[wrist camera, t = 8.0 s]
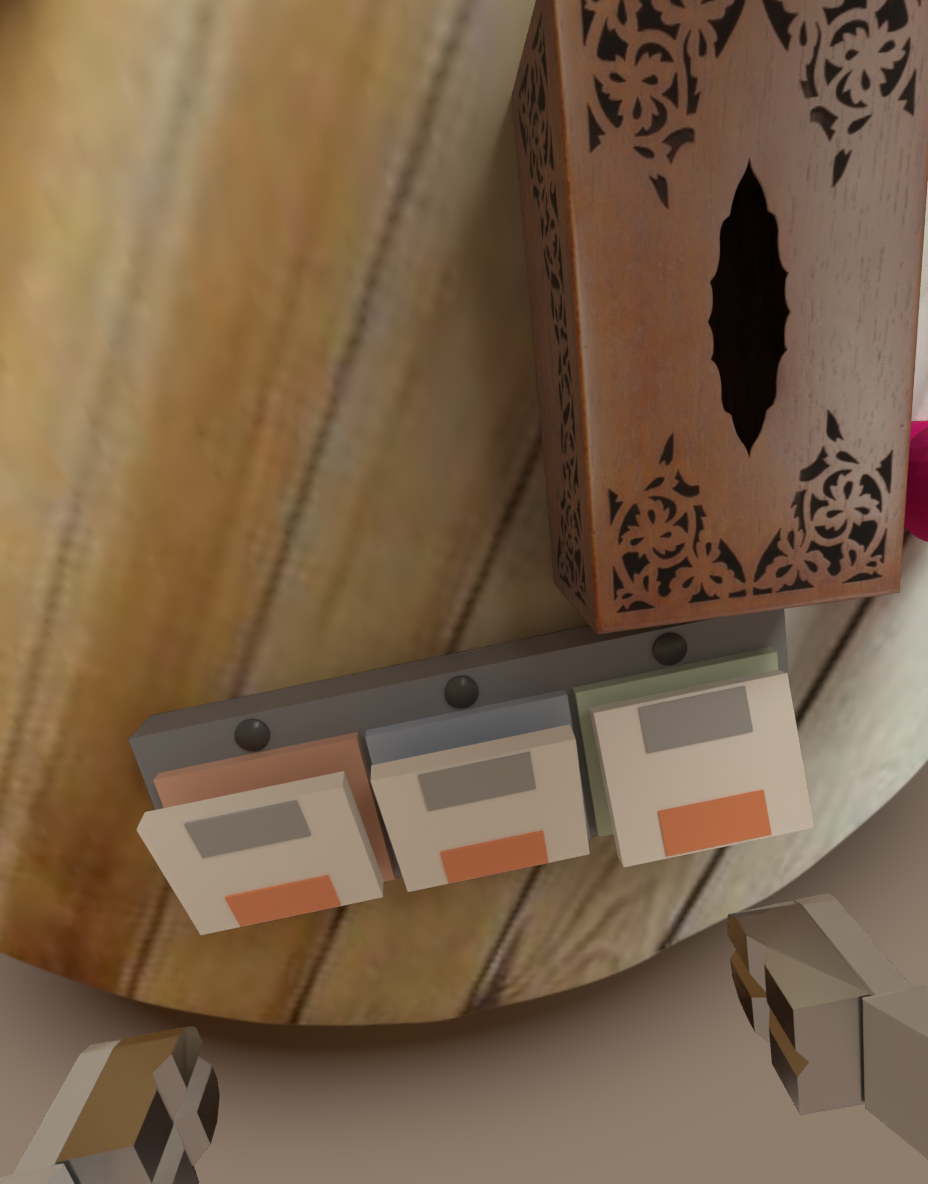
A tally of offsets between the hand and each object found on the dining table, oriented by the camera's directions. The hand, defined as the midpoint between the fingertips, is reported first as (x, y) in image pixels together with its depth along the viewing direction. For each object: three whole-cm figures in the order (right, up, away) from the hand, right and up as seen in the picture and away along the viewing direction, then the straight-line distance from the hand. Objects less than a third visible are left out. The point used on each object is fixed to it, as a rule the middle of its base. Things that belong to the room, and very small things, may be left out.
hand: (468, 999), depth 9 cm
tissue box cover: (+11, +20, +26) cm, 34 cm away
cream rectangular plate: (+1, -6, +25) cm, 26 cm away
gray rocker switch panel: (+1, -4, +31) cm, 31 cm away
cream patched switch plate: (-11, -9, +25) cm, 29 cm away
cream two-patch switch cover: (+13, -4, +26) cm, 29 cm away
